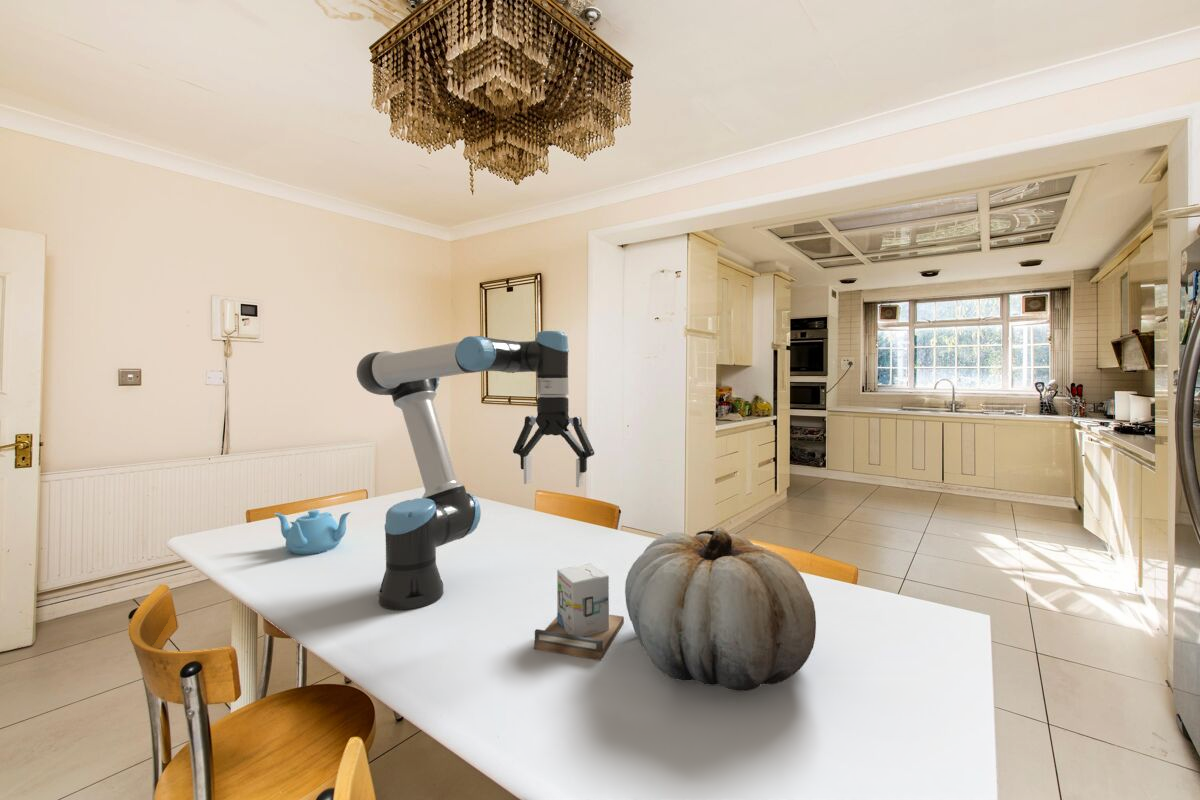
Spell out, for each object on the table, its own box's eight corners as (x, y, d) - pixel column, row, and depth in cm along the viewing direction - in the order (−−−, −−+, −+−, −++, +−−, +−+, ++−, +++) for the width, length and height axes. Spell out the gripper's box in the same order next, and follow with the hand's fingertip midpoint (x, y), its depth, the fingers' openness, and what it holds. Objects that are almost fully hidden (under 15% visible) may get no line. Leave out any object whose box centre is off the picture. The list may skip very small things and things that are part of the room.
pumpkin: (586, 636, 106) (586, 518, 105) (716, 600, 124) (716, 498, 123) (705, 745, 74) (706, 575, 73) (858, 675, 91) (859, 538, 91)
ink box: (556, 622, 109) (556, 568, 109) (591, 613, 113) (591, 562, 113) (572, 639, 101) (572, 582, 101) (610, 630, 105) (609, 574, 105)
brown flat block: (534, 648, 101) (534, 631, 101) (565, 614, 116) (565, 599, 116) (600, 660, 96) (600, 642, 96) (623, 623, 112) (623, 607, 111)
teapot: (292, 561, 152) (291, 521, 151) (274, 548, 164) (273, 510, 164) (351, 548, 164) (351, 510, 164) (331, 536, 177) (330, 501, 177)
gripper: (498, 396, 121) (499, 484, 122) (596, 396, 113) (597, 490, 114) (513, 395, 129) (514, 478, 129) (607, 396, 121) (607, 484, 121)
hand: (553, 484), depth 122 cm, fingers open, 13 cm apart
